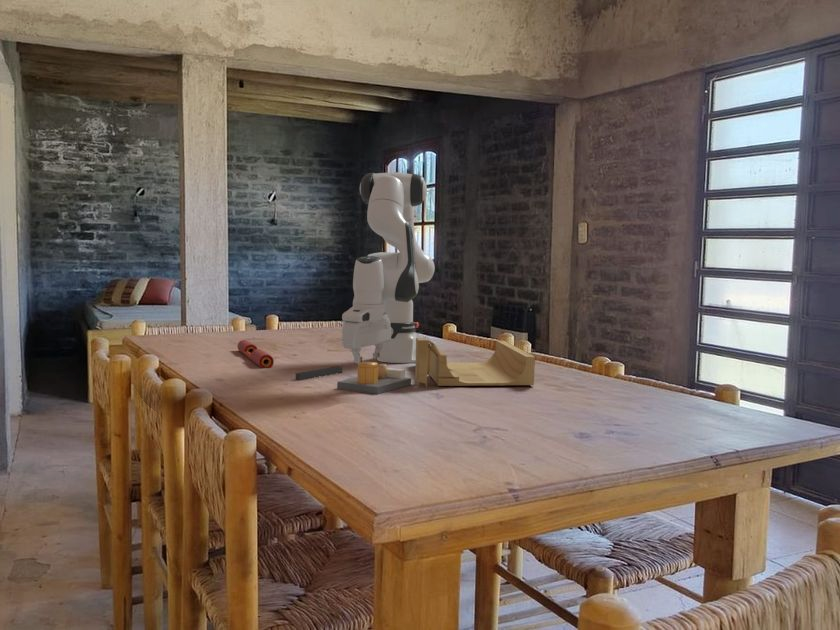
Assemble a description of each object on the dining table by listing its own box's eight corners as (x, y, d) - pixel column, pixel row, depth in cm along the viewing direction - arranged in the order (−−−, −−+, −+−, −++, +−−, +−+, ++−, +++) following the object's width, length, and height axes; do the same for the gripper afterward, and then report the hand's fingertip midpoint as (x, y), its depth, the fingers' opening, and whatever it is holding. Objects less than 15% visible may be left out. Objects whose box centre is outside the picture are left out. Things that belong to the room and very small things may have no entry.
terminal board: (372, 379, 228) (372, 360, 228) (410, 384, 222) (411, 364, 221) (337, 388, 213) (337, 368, 212) (377, 394, 206) (378, 372, 205)
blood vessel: (237, 352, 284) (237, 339, 283) (250, 352, 286) (250, 339, 285) (258, 369, 245) (258, 354, 245) (273, 369, 247) (273, 354, 247)
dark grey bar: (300, 371, 225) (290, 370, 227) (300, 380, 225) (290, 379, 227) (342, 365, 240) (332, 364, 242) (342, 373, 240) (332, 372, 242)
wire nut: (365, 379, 217) (365, 361, 217) (381, 381, 215) (381, 362, 214) (353, 382, 213) (354, 363, 212) (370, 384, 210) (370, 365, 209)
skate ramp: (534, 388, 222) (536, 335, 221) (417, 388, 218) (418, 334, 216) (503, 367, 262) (504, 322, 260) (403, 367, 257) (404, 321, 256)
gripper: (378, 309, 223) (378, 355, 224) (338, 315, 205) (337, 364, 206) (396, 311, 219) (395, 357, 221) (357, 316, 202) (356, 366, 203)
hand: (367, 360), depth 213 cm, fingers open, 8 cm apart
